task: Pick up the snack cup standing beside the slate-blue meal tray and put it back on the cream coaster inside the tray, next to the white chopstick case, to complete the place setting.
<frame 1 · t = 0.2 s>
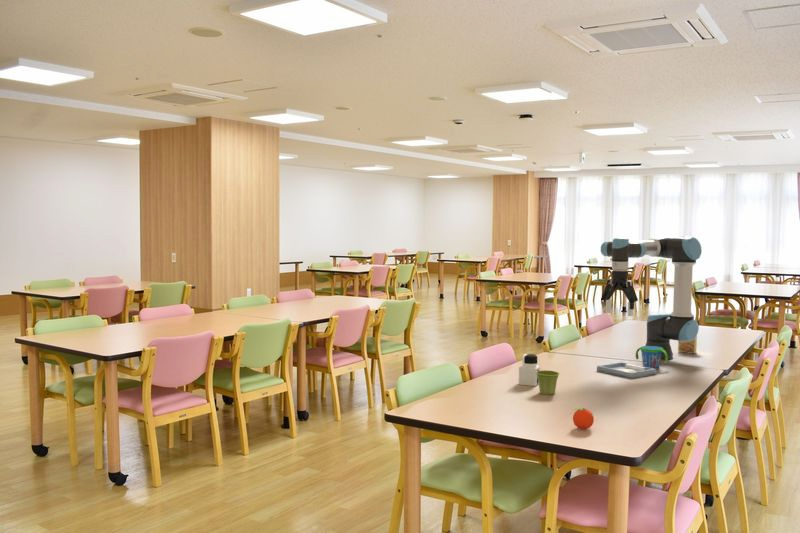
hand: (619, 314, 328), 27 cm above the table, tool pointing down, fingers open, 13 cm apart
candy box: (687, 352, 381), on the table
plant pot: (547, 393, 284), on the table
meal tray: (626, 372, 326), on the table
tomato: (581, 429, 233), on the table
snack cup: (651, 368, 338), on the table
container: (529, 384, 301), on the table
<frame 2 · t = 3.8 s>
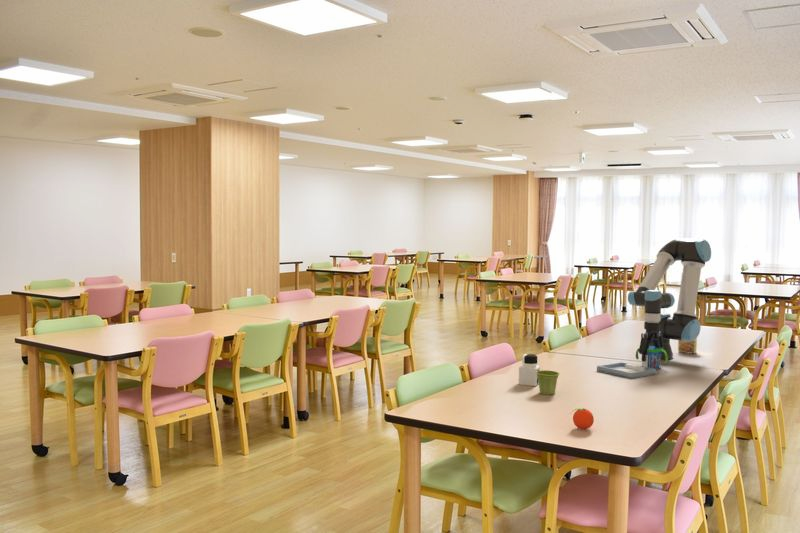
hand: (651, 366, 337), 1 cm above the table, tool pointing down, fingers closed on snack cup, 9 cm apart
snack cup: (651, 368, 338), on the table, touching gripper
everything else where it was.
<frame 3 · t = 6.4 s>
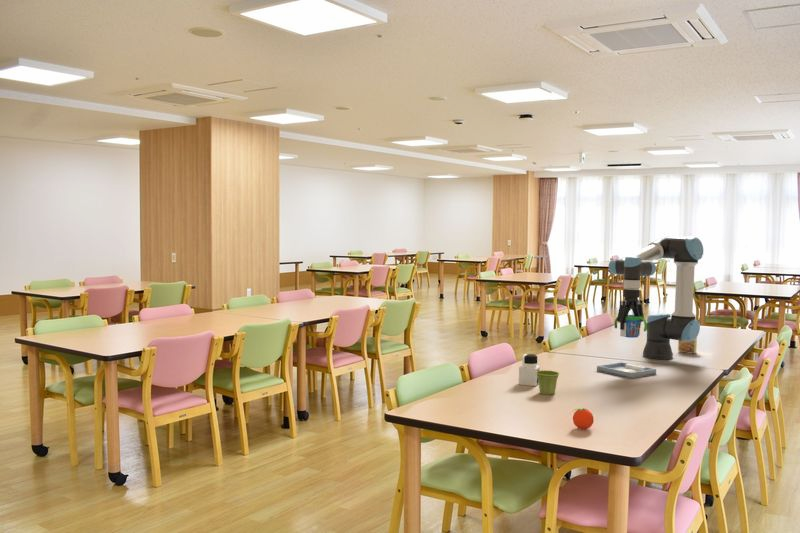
hand: (630, 335, 326), 18 cm above the table, tool pointing down, fingers closed on snack cup, 9 cm apart
snack cup: (630, 337, 326), point 17 cm above the table, touching gripper
everything else where it was.
when the fingers open (4 cm above the table, at t = 9.4 s): snack cup drops 2 cm, resting on meal tray.
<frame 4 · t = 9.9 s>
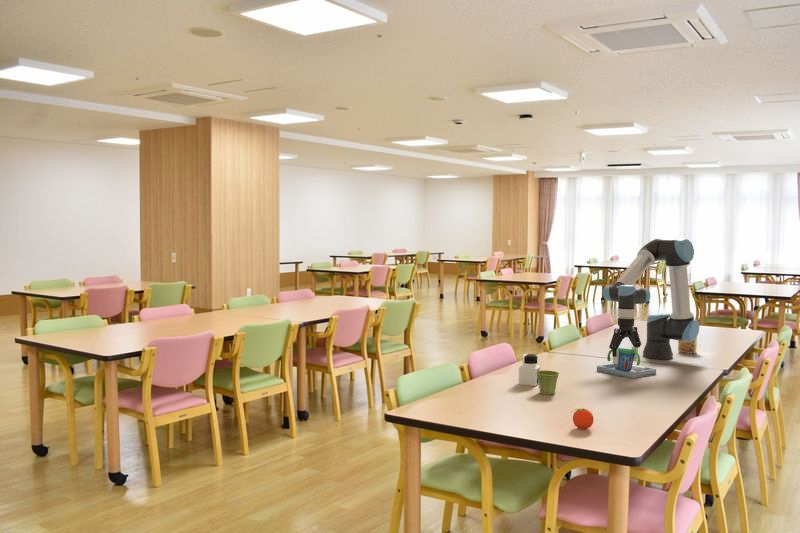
hand: (625, 362, 325), 5 cm above the table, tool pointing down, fingers open, 13 cm apart
snack cup: (622, 371, 324), point 1 cm above the table, touching gripper, meal tray
everything else where it was.
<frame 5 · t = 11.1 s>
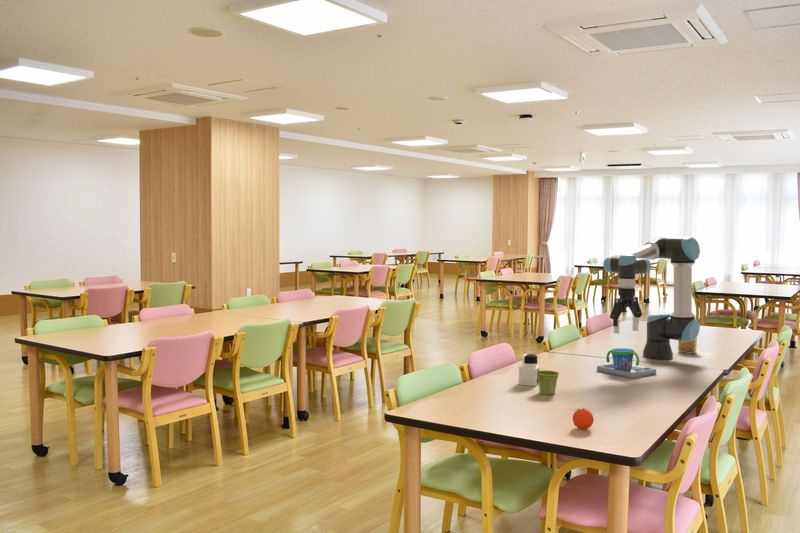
hand: (625, 332, 324), 20 cm above the table, tool pointing down, fingers open, 13 cm apart
snack cup: (622, 371, 324), point 1 cm above the table, touching meal tray
everything else where it was.
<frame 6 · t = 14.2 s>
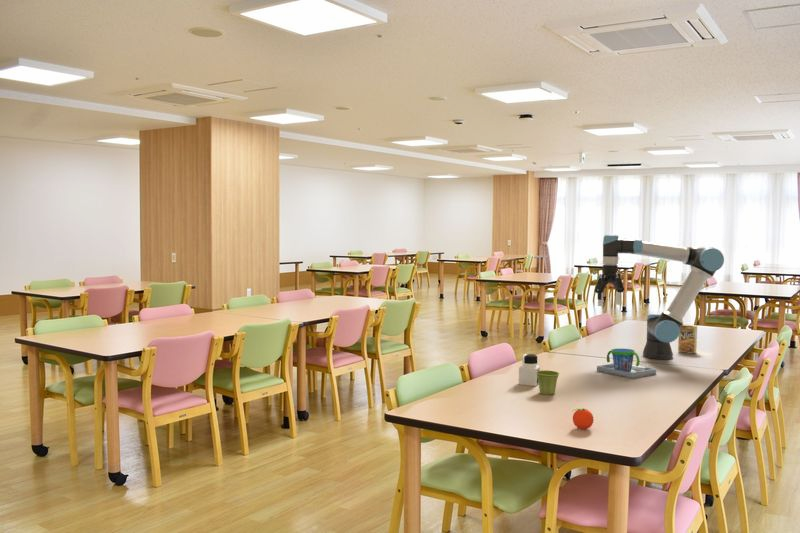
hand: (609, 305, 356), 29 cm above the table, tool pointing down, fingers open, 13 cm apart
nothing on the table moved.
at the end: snack cup inside the target area (2.1 cm from its centre), point 0.8 cm above the table; snack cup tilted 0°; the gripper is holding nothing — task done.
